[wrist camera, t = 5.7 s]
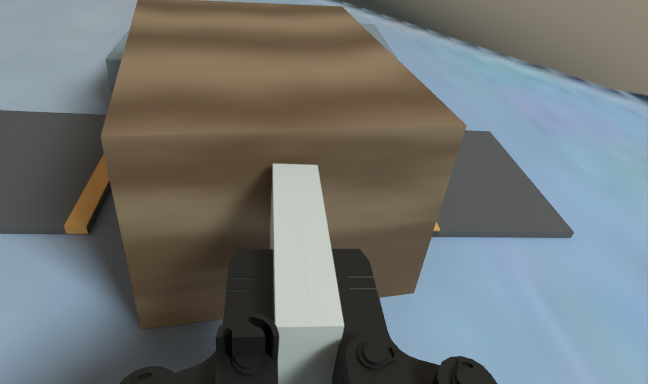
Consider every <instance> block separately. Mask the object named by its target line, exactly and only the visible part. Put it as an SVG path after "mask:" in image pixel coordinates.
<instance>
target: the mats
mask: <svg viewBox="0 0 648 384" xmlns="http://www.w3.org/2000/svg"><path fill="white" fill-rule="evenodd" d="M105 119H106V115H96V114H73V113H50V112H26V111H3V110H0V233H30V234H88V233H89V231H90V229H91V227H92V225H93V223H94V221H95V219H96V217H97V214H98V212H99V210H100V208H101V206H102V204H103V202H104V200H105V198H106V196H107V193H108V191H109V189H110V187H111V184H110V179H109V175H108V170H107V165H106V160H105V156H104V151H103V146H102V141H101V133H102V130H103V126H104V122H105ZM573 233H574V232H573V231H572V229H571V228H570V227H569V226H568V225H567V223H566V222H565V221H564V220H563V219H562V217H561V216H560V215H559V214H558V213H557V211H556V210H555V209H554V208H553V207H552V205H551V204H550V203H549V202H548V201H547V199H546V198H545V197H544V196H543V195H542V193H541V192H540V191H539V190H538V189H537V188H536V186H535V185H534V184H533V183H532V182H531V180H530V179H529V178H528V177H527V176H526V174H525V173H524V172H523V171H522V170H521V168H520V167H519V166H518V165H517V164H516V162H515V161H514V160H513V159H512V158H511V156H510V155H509V154H508V153H507V152H506V150H505V149H504V148H503V147H502V146H501V144H500V143H499V142H498V141H497V140H496V139H495V137H494V136H493V135H492V134H491V133H490V132H489V131H466V130H465V132H464V135H463V139H462V142H461V145H460V148H459V151H458V154H457V158H456V161H455V164H454V167H453V170H452V173H451V177H450V180H449V183H448V186H447V189H446V192H445V196H444V199H443V202H442V205H441V208H440V211H439V215H438V218H437V221H436V224H435V227H434V230H433V234H432V237H564V238H571V237H572V235H573Z"/></svg>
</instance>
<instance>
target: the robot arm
mask: <svg viewBox="0 0 648 384" xmlns="http://www.w3.org/2000/svg"><path fill="white" fill-rule="evenodd" d="M120 384H497V383H496V381H495V380H494V378H493V377H492V375H491V374H490V373H489V372H488V371H487V370H486V369H485V368H484V367H483V366H482V365H481V364H479V363H477V362H476V361H474V360H472V359H469V358H466V357H462V356H458V357H450V358H448V359H446V360H444V361H443V362H442V363H441V365H436V364H433V363H429V362H426V361H422V360H418V359H416V358H413V357H410V356H408V355H407V354H405V353H404V352H402V351H401V350H400V349H399V348H398V347H397V346H396V345H395V344H394V343H393V341H392V340H391V338H390V336H389V333H388V331H387V327H386V323H385V319H384V315H383V311H382V307H381V303H380V299H379V296H378V292H377V290H376V284H375V280H374V278H373V272H372V268H371V264H370V261H369V260H368V259H367V257H366V256H365V255H364V254H363V252H362V251H361V250H360V249H331V243H330V237H329V231H328V225H327V219H326V213H325V207H324V201H323V195H322V189H321V183H320V177H319V171H318V165H304V164H273V169H272V192H271V216H270V249H237V251H236V252H235V254H234V255H233V257H232V258H231V260H230V261H229V267H228V278H227V287H226V298H225V308H224V318H223V324H222V325H221V326H220V327H219V329H218V332H217V335H216V351H215V352H214V354H213V355H212V356H211V357H210V358H208V359H207V360H206V361H204V362H203V363H201V364H199V365H197V366H194V367H192V368H189V369H186V370H183V371H180V372H177V373H173V371H171V370H169V369H166V368H164V367H161V366H149V367H145V368H142V369H139V370H136V371H135V372H133V373H132V374H130V375H129V376H127V377H126V378H124V380H123V381H122V382H121V383H120Z"/></svg>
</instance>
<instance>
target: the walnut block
mask: <svg viewBox="0 0 648 384" xmlns="http://www.w3.org/2000/svg"><path fill="white" fill-rule="evenodd" d="M466 126H467V125H466V124H465V123H464V122H463V121H462V120H461V119H459V118H458V117H457V116H456V115H455V114H454V113H453V112H452V111H451V110H450V109H449V108H448V107H447V106H446V105H445V104H444V103H443V102H442V101H441V100H439V99H438V98H437V97H436V96H435V95H434V94H433V93H432V92H431V91H430V90H429V89H428V88H427V87H426V86H425V85H424V84H423V83H422V82H421V81H420V80H418V79H417V78H416V77H415V76H414V75H413V74H412V73H411V72H410V71H409V70H408V69H407V68H406V67H405V66H404V65H403V64H402V63H401V62H400V61H398V60H397V59H396V58H395V57H394V56H393V55H392V54H391V53H390V52H389V51H388V50H387V49H386V48H385V47H384V46H383V45H382V44H381V43H380V42H379V41H377V40H376V39H375V38H374V37H373V36H372V35H371V34H370V33H369V32H368V31H367V30H366V29H365V28H364V27H363V26H362V25H361V24H360V23H359V22H357V21H356V20H355V19H354V18H353V17H352V16H351V15H350V14H349V13H348V12H347V11H346V10H345V9H344V8H343V7H339V6H316V5H293V4H269V3H246V2H223V1H200V0H138V1H137V5H136V9H135V12H134V16H133V20H132V23H131V27H130V31H129V34H128V38H127V42H126V45H125V49H124V53H123V56H122V60H121V64H120V67H119V71H118V75H117V78H116V82H115V86H114V89H113V93H112V97H111V100H110V104H109V108H108V111H107V115H106V119H105V122H104V126H103V130H102V133H101V141H102V146H103V151H104V156H105V160H106V165H107V170H108V175H109V179H110V184H111V189H112V194H113V199H114V203H115V208H116V213H117V218H118V223H119V227H120V232H121V237H122V242H123V247H124V251H125V256H126V261H127V266H128V271H129V275H130V280H131V285H132V290H133V295H134V299H135V304H136V309H137V314H138V318H139V323H140V328H141V330H143V329H151V328H158V327H166V326H173V325H180V324H188V323H195V322H203V321H210V320H217V319H223V318H224V308H225V298H226V287H227V278H228V267H229V261H230V260H231V258H232V257H233V255H234V254H235V252H236V251H237V249H270V216H271V192H272V169H273V164H304V165H318V171H319V177H320V183H321V189H322V195H323V201H324V207H325V213H326V219H327V225H328V231H329V237H330V243H331V249H360V250H361V251H362V252H363V254H364V255H365V256H366V257H367V259H368V260H369V261H370V264H371V268H372V272H373V278H374V280H375V284H376V290H377V292H378V296H379V298H381V297H388V296H395V295H403V294H410V293H414V291H415V287H416V284H417V281H418V278H419V275H420V272H421V268H422V265H423V262H424V259H425V256H426V253H427V249H428V246H429V243H430V240H431V237H432V234H433V230H434V227H435V224H436V221H437V218H438V215H439V211H440V208H441V205H442V202H443V199H444V196H445V192H446V189H447V186H448V183H449V180H450V177H451V173H452V170H453V167H454V164H455V161H456V158H457V154H458V151H459V148H460V145H461V142H462V139H463V135H464V132H465V129H466Z"/></svg>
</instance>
